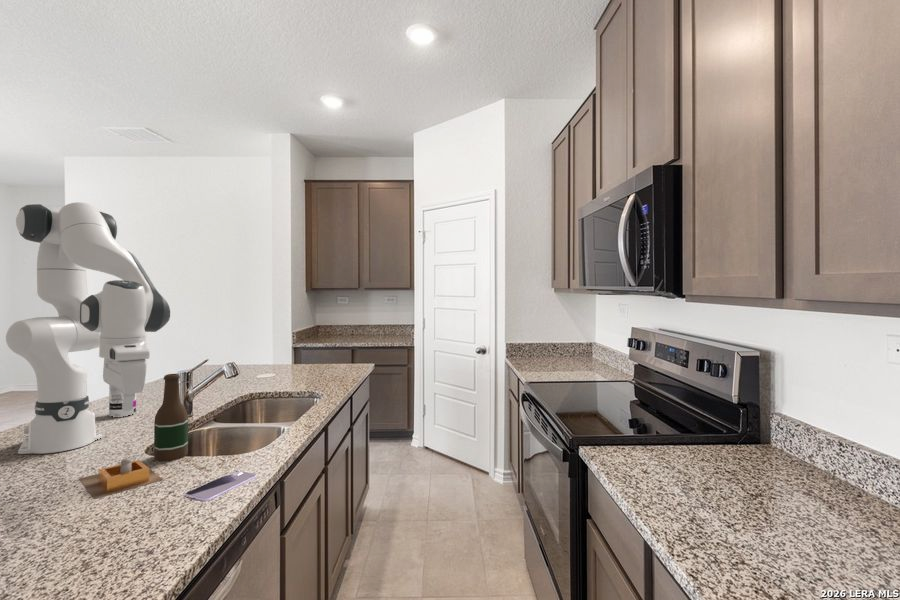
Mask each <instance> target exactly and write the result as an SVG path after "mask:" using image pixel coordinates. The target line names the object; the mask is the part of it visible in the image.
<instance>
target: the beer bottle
mask: <svg viewBox="0 0 900 600" xmlns="http://www.w3.org/2000/svg"><path fill="white" fill-rule="evenodd" d="M180 378H181V377H180V374H178V373H168V374H165V375H164V377H163V380H164V387H163V388H164V389H163V399H162V405H160V407H159V408H158V410H157V412H156V414H155V416H154V422H153V423H154V424H153V429H154V430H153V433H154V434H153V435H154V436H153V440H154V441H153V445H154V446H153V459H154V460H155V461H158V462H172V461H174V460H175V461H176V460H179V459H183V458H184V457H185V456H187V455H188V454H189V453H188V452H189V416H188V415H189V414H188V411H187V409H186V407H185V406H184V405H183V403H182V402H181V396H180V393H181V392H180Z"/></svg>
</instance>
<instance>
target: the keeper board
mask: <svg viewBox="0 0 900 600" xmlns="http://www.w3.org/2000/svg"><path fill="white" fill-rule="evenodd" d="M131 462H132V459H131V458H129V457H126V458H123V459H122V460H121V461H120V464H121V474H123V473H127V472H131ZM142 463H143V464H145V463H144V462H142ZM146 466H147V467H148V468H149V481H147V482H143V483H140V484H136V485H132V486H129V487H125V488H121V489H118V490H114V491H110V492H106V491H105V490H104V488H103V487H102V486H101V485H100V484H99V483H98V473H95V474H93V475H88V476H84V477H79V478H78V480H79V481H80V483H82V486H84V488H85V489H86V491H87V492H88V493H89V494H90V496H91V497H92V498H93V499H94V500H97V499H101V498H105V497H108V496H111V495H114V494H119V493H122V492H126V491H129V490H133V489H137V488H140V487H144V486H148V485H151V484H154V483H159V482H162V481H164V479H163V478H162V477H161V475H159V474H157V473H156V472H155V471H154V470H152V469H151V468H150V467H149V466H148V465H146Z"/></svg>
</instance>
